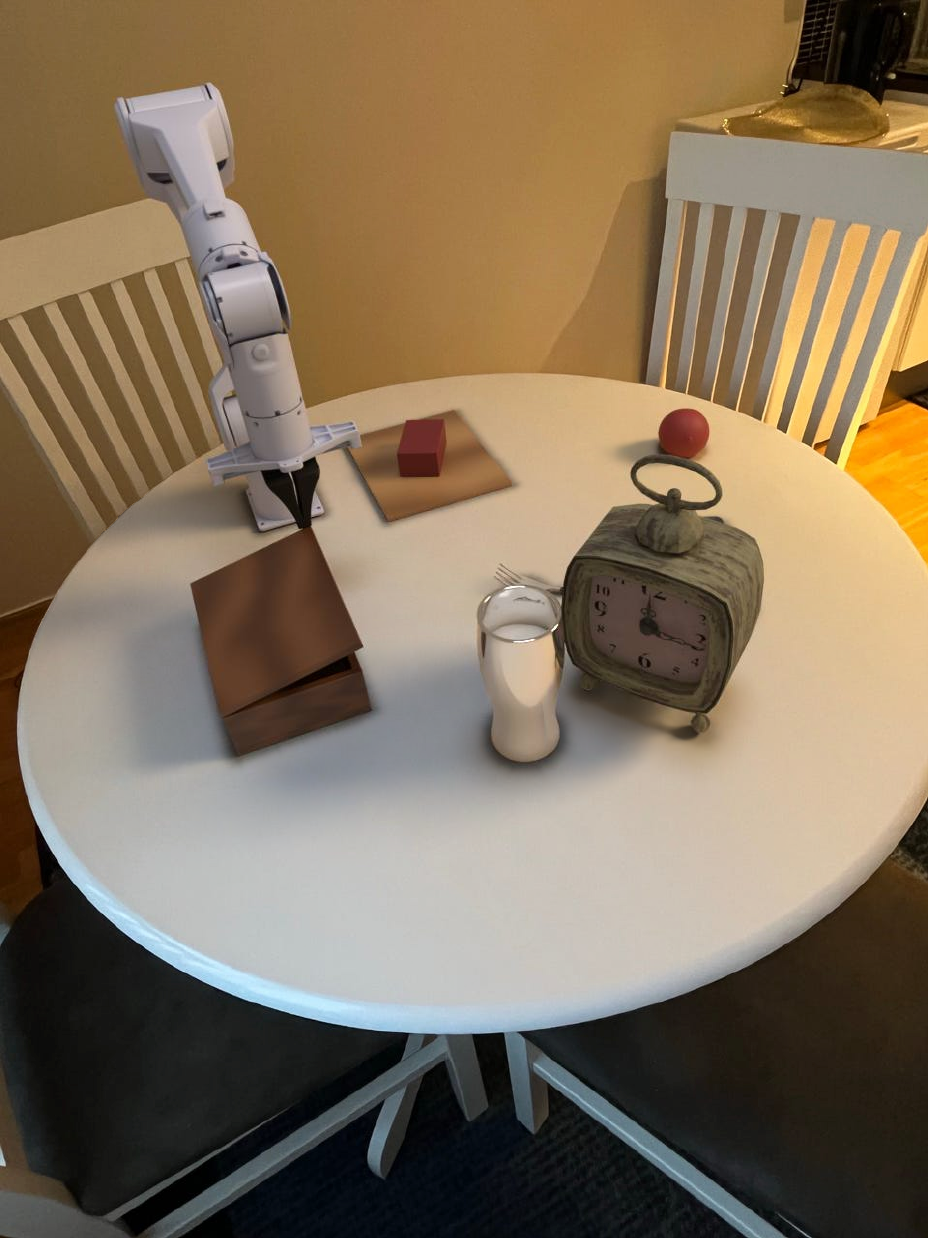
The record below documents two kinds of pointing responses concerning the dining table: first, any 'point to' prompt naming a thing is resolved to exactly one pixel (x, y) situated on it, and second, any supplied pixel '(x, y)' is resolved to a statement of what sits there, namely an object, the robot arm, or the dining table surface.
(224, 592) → the lid
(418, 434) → the dark-red plain block
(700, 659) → the tabletop clock
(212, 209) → the robot arm
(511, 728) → the beer glass
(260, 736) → the chest
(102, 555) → the dining table surface
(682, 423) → the fruit
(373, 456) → the wooden board
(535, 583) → the fork
